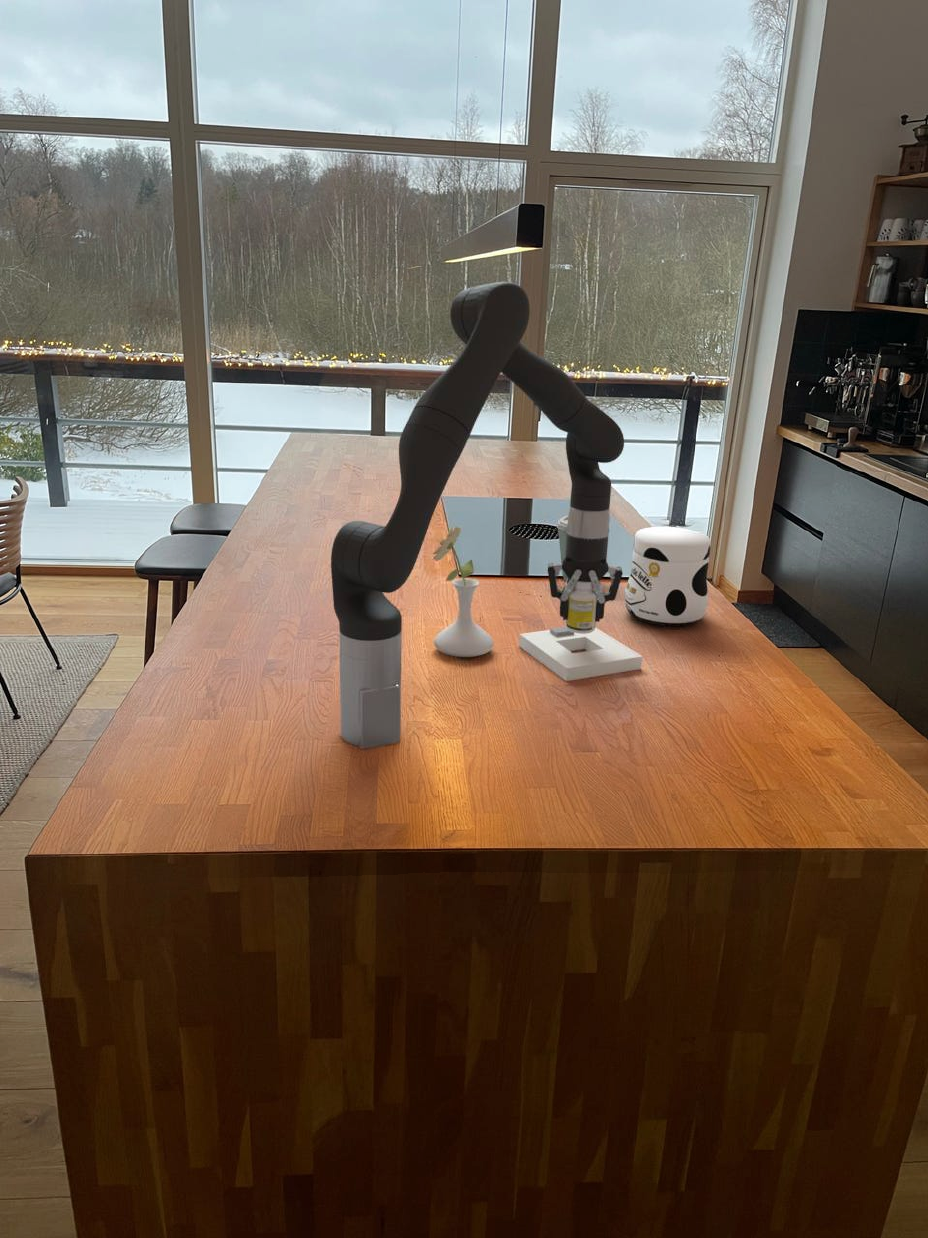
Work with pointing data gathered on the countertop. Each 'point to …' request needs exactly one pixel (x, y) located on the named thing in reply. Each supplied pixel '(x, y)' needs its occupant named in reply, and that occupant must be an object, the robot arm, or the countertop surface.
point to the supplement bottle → (582, 608)
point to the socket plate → (569, 666)
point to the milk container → (668, 576)
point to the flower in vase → (461, 610)
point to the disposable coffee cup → (562, 539)
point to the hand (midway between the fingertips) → (580, 619)
